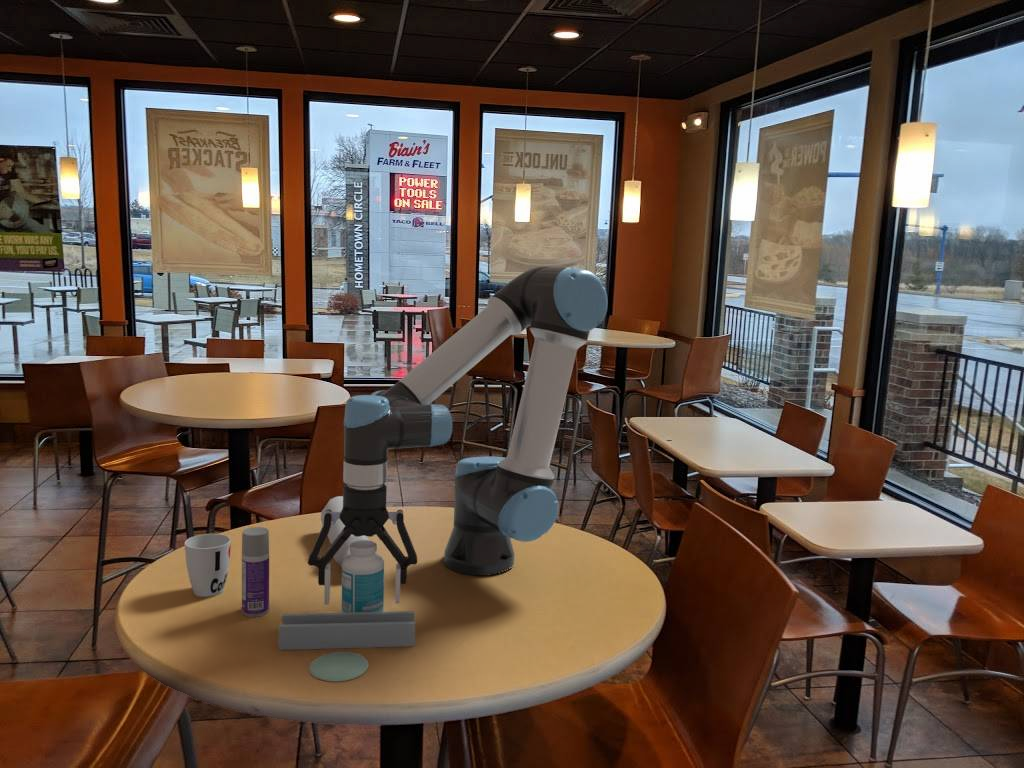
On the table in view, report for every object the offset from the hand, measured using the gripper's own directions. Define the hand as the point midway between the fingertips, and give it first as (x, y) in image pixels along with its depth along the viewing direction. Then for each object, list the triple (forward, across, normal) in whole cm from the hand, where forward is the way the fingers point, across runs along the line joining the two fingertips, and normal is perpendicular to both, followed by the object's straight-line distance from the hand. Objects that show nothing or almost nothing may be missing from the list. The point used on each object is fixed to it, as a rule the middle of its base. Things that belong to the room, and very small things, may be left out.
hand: (362, 601), depth 142 cm
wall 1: (+3, +2, +12) cm, 12 cm away
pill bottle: (+3, 0, 0) cm, 3 cm away
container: (+3, +19, -3) cm, 19 cm away
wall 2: (+3, +2, +8) cm, 8 cm away
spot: (+3, +3, +18) cm, 18 cm away
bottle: (+3, +5, -31) cm, 32 cm away
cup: (+3, +29, -12) cm, 32 cm away
